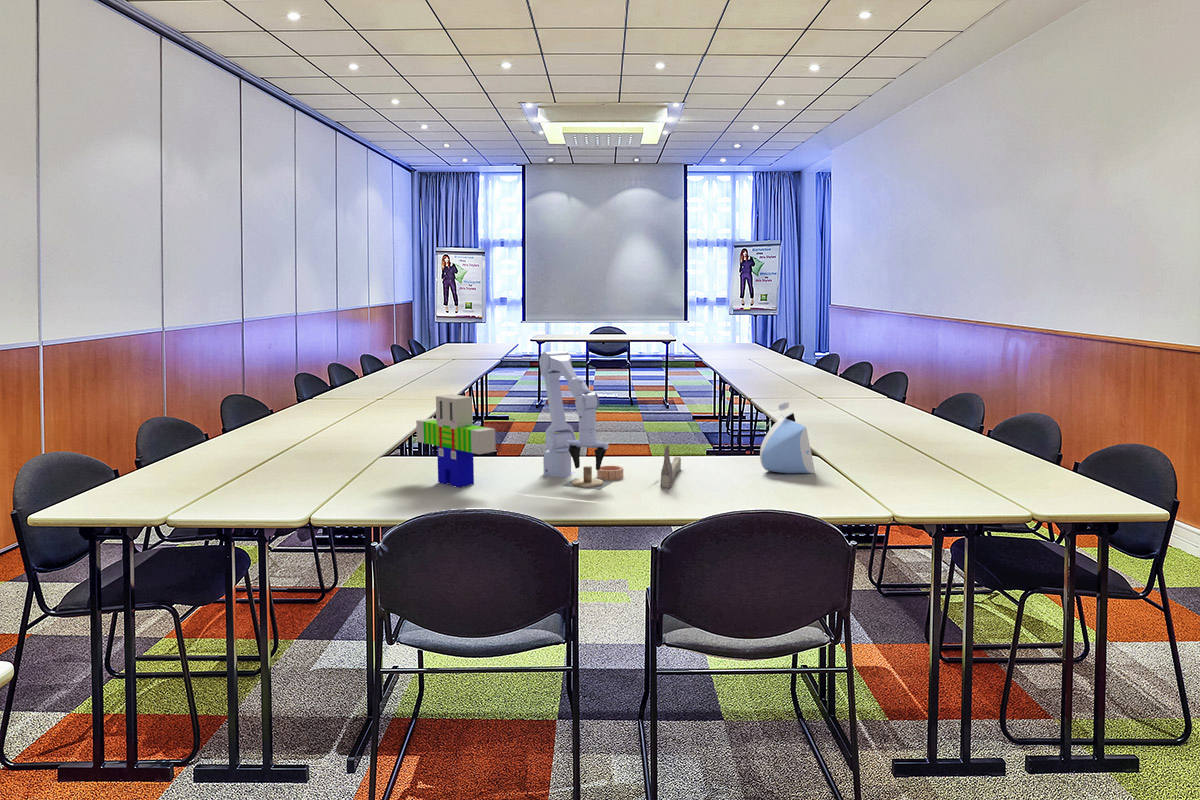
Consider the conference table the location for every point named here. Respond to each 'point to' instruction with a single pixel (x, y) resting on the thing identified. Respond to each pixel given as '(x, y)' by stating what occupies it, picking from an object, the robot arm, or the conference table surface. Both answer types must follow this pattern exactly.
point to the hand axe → (669, 469)
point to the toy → (455, 439)
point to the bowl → (610, 472)
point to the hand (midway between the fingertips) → (587, 468)
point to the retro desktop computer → (786, 446)
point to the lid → (587, 479)
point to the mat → (588, 487)
